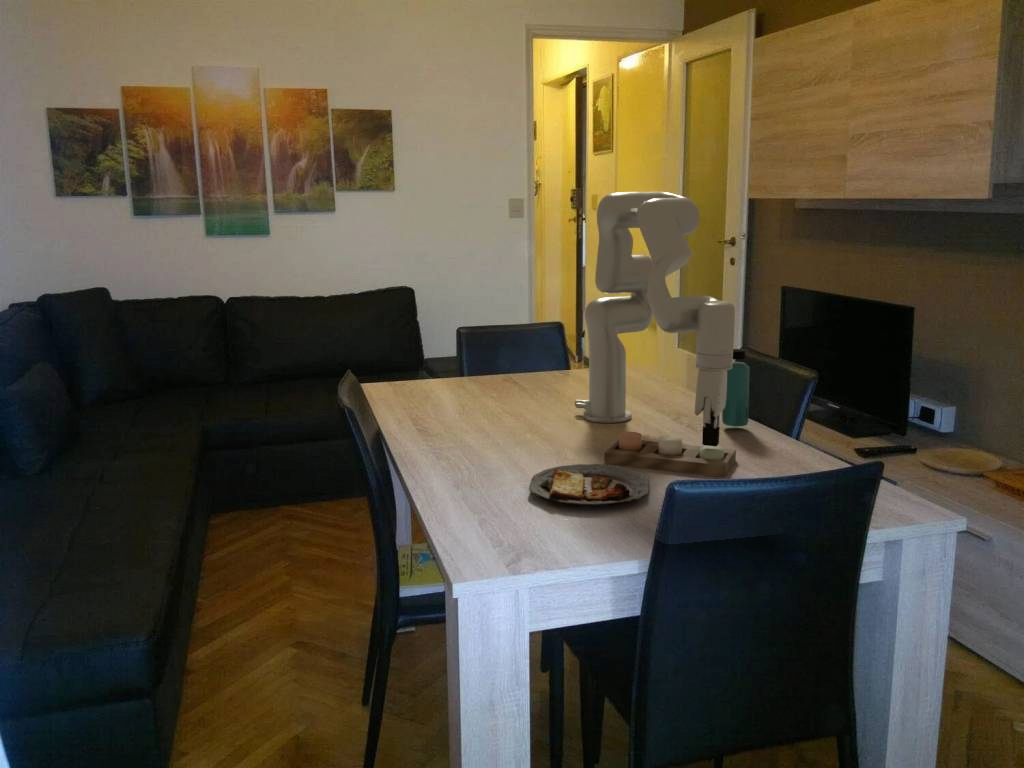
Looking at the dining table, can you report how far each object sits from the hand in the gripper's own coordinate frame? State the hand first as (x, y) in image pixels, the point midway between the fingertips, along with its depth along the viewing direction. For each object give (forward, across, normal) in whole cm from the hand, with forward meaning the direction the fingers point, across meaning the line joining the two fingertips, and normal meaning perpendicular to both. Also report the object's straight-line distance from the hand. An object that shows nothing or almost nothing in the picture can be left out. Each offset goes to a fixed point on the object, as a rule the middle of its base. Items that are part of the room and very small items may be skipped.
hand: (710, 444), depth 183 cm
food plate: (+5, +24, -18) cm, 31 cm away
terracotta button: (+3, 0, -18) cm, 18 cm away
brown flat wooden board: (+5, 0, -8) cm, 10 cm away
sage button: (+4, 0, 0) cm, 4 cm away
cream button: (+3, 0, -9) cm, 9 cm away
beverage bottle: (+5, -32, 0) cm, 32 cm away
